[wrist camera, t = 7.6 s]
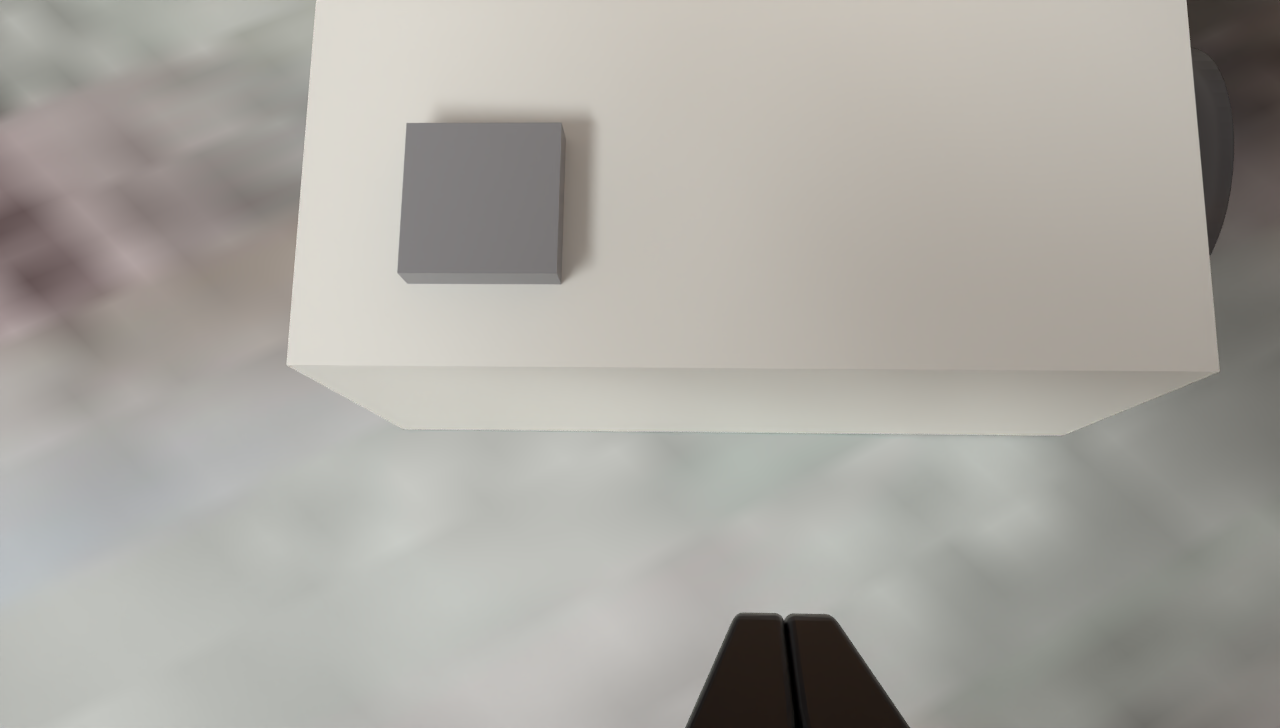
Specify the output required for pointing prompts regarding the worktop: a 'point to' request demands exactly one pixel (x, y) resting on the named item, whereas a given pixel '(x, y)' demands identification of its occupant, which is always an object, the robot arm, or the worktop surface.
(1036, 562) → the worktop surface
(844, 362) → the white box
